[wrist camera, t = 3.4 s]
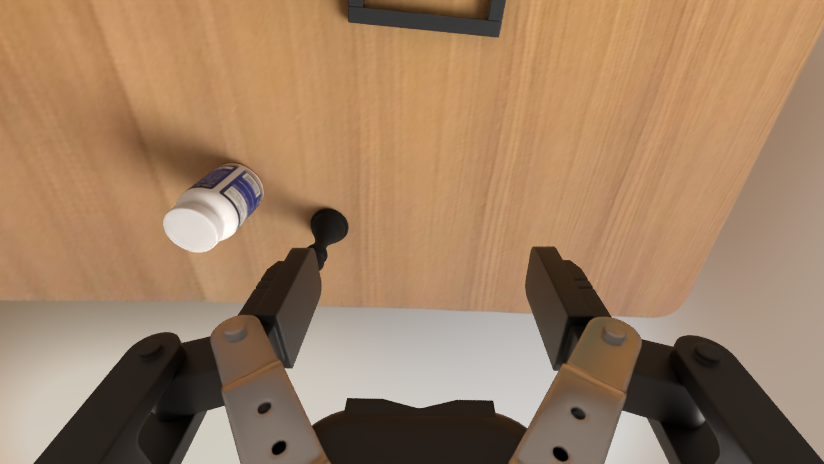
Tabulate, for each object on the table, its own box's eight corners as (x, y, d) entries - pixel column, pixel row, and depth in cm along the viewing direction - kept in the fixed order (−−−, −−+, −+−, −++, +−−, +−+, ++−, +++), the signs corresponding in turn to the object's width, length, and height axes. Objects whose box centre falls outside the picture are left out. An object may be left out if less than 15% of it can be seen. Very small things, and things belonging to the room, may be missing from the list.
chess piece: (310, 237, 43) (281, 291, 35) (312, 205, 41) (281, 254, 32) (346, 243, 43) (327, 298, 35) (350, 212, 41) (330, 262, 33)
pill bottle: (210, 197, 41) (153, 244, 32) (217, 153, 38) (157, 191, 30) (260, 215, 42) (217, 266, 33) (270, 174, 39) (227, 217, 31)
